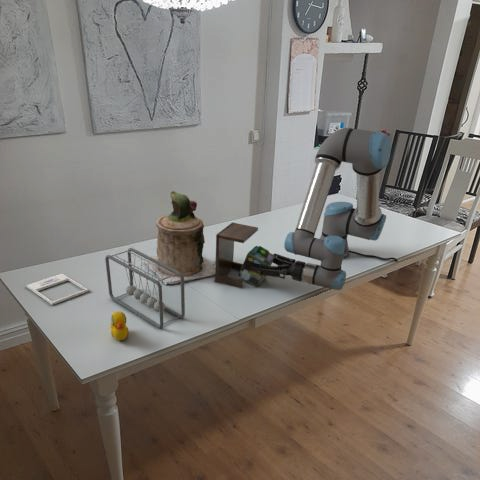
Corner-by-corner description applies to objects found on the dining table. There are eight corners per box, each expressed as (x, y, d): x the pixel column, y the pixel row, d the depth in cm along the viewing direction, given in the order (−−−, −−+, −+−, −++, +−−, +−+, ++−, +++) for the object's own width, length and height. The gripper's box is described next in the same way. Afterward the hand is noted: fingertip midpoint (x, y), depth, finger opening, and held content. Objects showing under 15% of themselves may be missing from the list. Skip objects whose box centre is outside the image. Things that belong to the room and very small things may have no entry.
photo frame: (62, 272, 183) (88, 288, 173) (62, 275, 184) (88, 291, 174) (26, 284, 174) (51, 302, 164) (26, 287, 174) (52, 305, 164)
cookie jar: (166, 287, 180) (162, 206, 163) (141, 262, 197) (136, 187, 180) (221, 274, 192) (223, 198, 175) (193, 252, 209) (193, 180, 192)
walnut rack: (254, 273, 195) (258, 227, 184) (240, 288, 183) (243, 240, 172) (230, 267, 198) (232, 222, 187) (215, 281, 186) (216, 234, 176)
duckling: (131, 346, 146) (129, 319, 141) (114, 349, 144) (111, 322, 139) (126, 327, 155) (124, 301, 150) (109, 329, 153) (106, 303, 148)
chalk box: (265, 278, 191) (279, 249, 182) (256, 287, 183) (271, 258, 174) (246, 267, 192) (259, 237, 183) (236, 275, 185) (250, 245, 176)
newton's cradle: (109, 298, 171) (104, 253, 161) (132, 289, 177) (128, 245, 168) (161, 331, 154) (159, 283, 145) (185, 319, 161) (184, 273, 152)
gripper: (294, 293, 170) (238, 279, 177) (310, 270, 187) (258, 258, 195) (296, 274, 166) (239, 261, 173) (313, 252, 183) (260, 241, 191)
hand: (249, 259), depth 184 cm, fingers closed on chalk box, 9 cm apart
